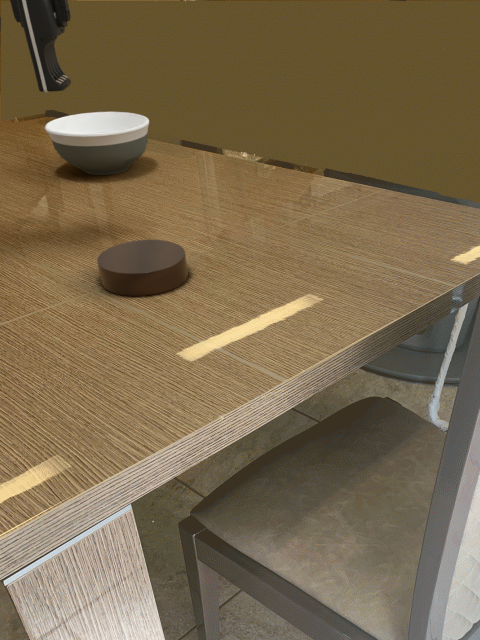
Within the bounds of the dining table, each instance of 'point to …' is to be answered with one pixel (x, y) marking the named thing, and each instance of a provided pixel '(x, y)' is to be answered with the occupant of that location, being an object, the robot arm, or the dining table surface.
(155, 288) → the brown round disc
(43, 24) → the battery charger
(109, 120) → the bowl
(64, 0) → the robot arm
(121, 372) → the dining table surface
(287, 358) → the dining table surface
